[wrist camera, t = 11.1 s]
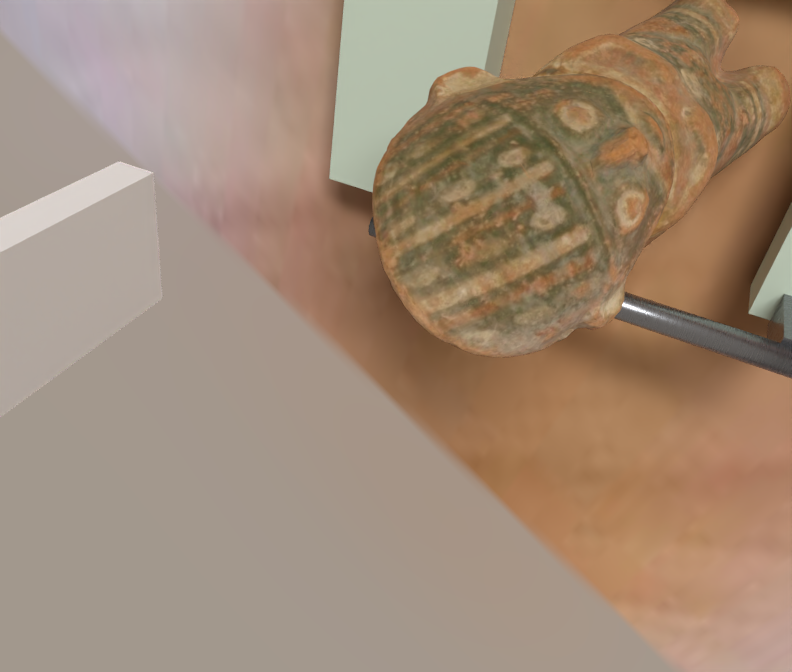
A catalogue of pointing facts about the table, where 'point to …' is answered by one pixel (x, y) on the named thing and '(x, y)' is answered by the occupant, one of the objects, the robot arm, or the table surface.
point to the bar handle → (713, 331)
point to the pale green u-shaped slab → (413, 77)
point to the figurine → (561, 177)
